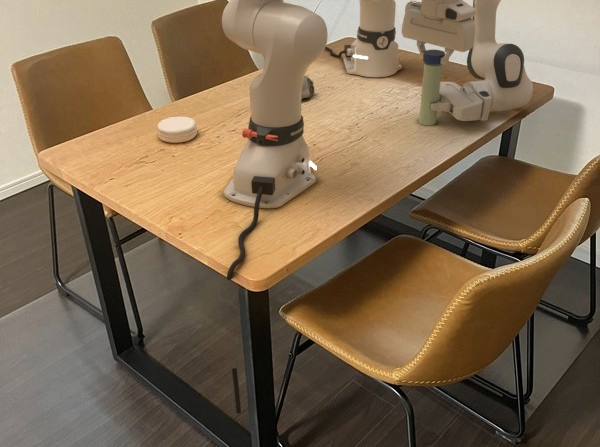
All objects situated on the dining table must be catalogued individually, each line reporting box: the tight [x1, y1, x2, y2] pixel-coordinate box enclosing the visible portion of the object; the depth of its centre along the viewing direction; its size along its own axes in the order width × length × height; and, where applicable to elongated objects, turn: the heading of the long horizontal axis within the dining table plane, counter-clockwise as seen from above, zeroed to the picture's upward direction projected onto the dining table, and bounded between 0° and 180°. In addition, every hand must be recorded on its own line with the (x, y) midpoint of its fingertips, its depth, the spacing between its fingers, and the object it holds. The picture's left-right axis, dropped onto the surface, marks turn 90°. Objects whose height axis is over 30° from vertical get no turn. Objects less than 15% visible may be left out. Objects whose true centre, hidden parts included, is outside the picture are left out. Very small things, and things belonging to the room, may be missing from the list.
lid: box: [422, 49, 446, 65], centre depth 159 cm, size 5×6×2 cm
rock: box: [301, 75, 315, 100], centre depth 186 cm, size 15×10×7 cm
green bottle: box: [418, 62, 443, 126], centre depth 164 cm, size 5×5×18 cm
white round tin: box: [156, 116, 198, 144], centre depth 162 cm, size 10×10×4 cm
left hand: (433, 61), depth 160 cm, fingers closed on lid, 5 cm apart
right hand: (426, 102), depth 166 cm, fingers closed on green bottle, 4 cm apart
